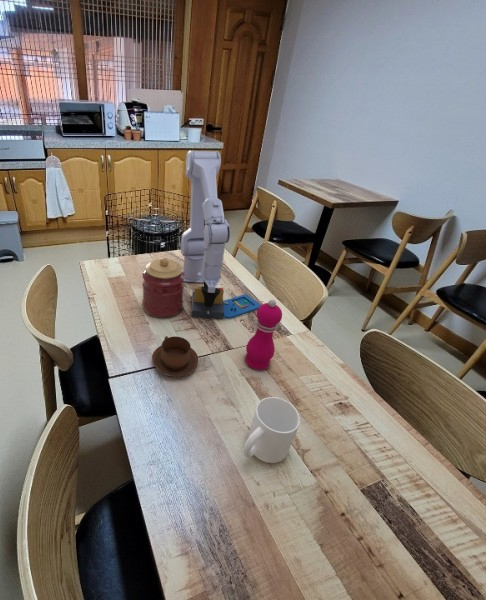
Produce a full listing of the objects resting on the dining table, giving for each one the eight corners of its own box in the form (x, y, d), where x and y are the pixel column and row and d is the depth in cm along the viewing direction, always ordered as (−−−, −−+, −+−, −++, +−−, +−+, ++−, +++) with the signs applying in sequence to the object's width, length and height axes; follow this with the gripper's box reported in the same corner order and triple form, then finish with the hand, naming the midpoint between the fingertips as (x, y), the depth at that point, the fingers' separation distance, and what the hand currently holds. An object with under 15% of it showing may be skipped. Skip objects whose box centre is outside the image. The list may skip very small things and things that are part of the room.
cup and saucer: (142, 363, 88) (142, 345, 85) (173, 342, 96) (175, 324, 92) (176, 388, 82) (177, 370, 78) (206, 363, 89) (209, 346, 86)
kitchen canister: (187, 316, 106) (191, 266, 96) (146, 320, 103) (146, 270, 93) (176, 294, 117) (180, 247, 107) (139, 297, 114) (139, 249, 104)
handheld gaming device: (211, 304, 111) (245, 293, 118) (210, 306, 112) (245, 295, 118) (226, 317, 105) (262, 305, 112) (226, 320, 106) (261, 308, 113)
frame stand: (186, 318, 105) (186, 311, 104) (187, 295, 116) (187, 289, 115) (228, 321, 105) (229, 315, 104) (225, 298, 116) (226, 291, 115)
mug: (255, 483, 64) (266, 451, 58) (225, 449, 69) (232, 417, 63) (295, 451, 70) (309, 419, 64) (265, 422, 75) (275, 390, 69)
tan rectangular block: (193, 301, 109) (195, 288, 106) (193, 299, 110) (195, 285, 107) (221, 304, 108) (223, 290, 106) (221, 301, 110) (223, 287, 107)
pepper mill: (275, 362, 91) (294, 300, 80) (261, 376, 87) (279, 313, 76) (252, 348, 95) (267, 288, 84) (238, 361, 91) (251, 299, 80)
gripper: (199, 250, 107) (195, 286, 115) (199, 272, 95) (195, 311, 103) (221, 252, 107) (216, 288, 115) (224, 274, 95) (218, 313, 103)
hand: (208, 299), depth 109 cm, fingers open, 7 cm apart
